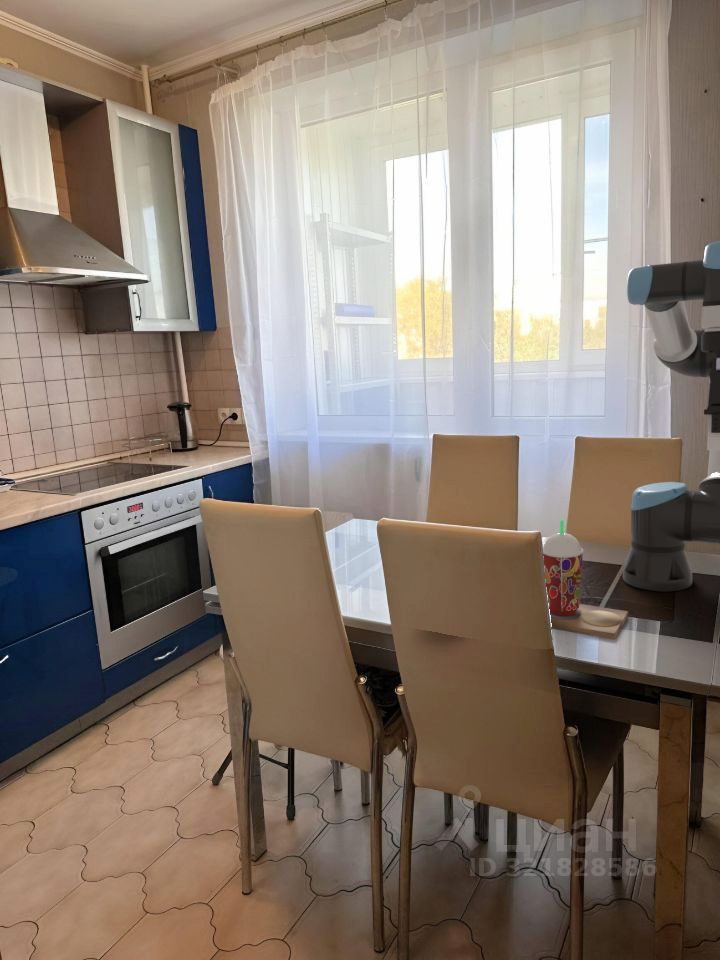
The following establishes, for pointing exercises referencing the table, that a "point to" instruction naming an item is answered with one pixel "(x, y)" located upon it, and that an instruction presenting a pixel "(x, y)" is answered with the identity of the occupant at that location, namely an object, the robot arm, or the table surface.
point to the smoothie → (563, 572)
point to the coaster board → (592, 621)
